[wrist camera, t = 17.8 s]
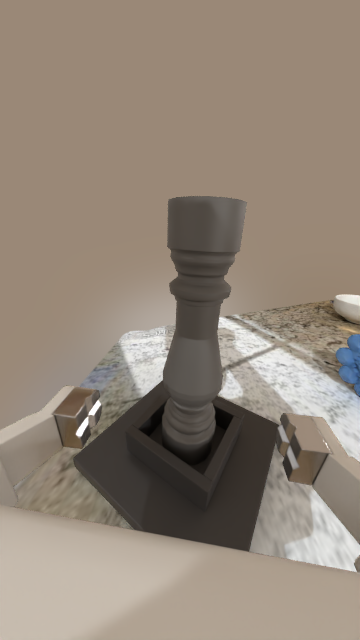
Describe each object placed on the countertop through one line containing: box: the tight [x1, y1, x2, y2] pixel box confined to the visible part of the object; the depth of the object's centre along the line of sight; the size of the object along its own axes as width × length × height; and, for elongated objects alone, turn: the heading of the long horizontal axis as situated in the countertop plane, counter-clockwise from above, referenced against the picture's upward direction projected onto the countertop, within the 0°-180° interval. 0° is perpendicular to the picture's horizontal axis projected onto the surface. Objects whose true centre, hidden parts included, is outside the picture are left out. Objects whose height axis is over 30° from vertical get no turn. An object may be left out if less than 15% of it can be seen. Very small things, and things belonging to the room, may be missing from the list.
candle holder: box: [162, 196, 247, 465], centre depth 20 cm, size 6×6×25 cm
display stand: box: [73, 381, 279, 552], centre depth 24 cm, size 18×18×4 cm
